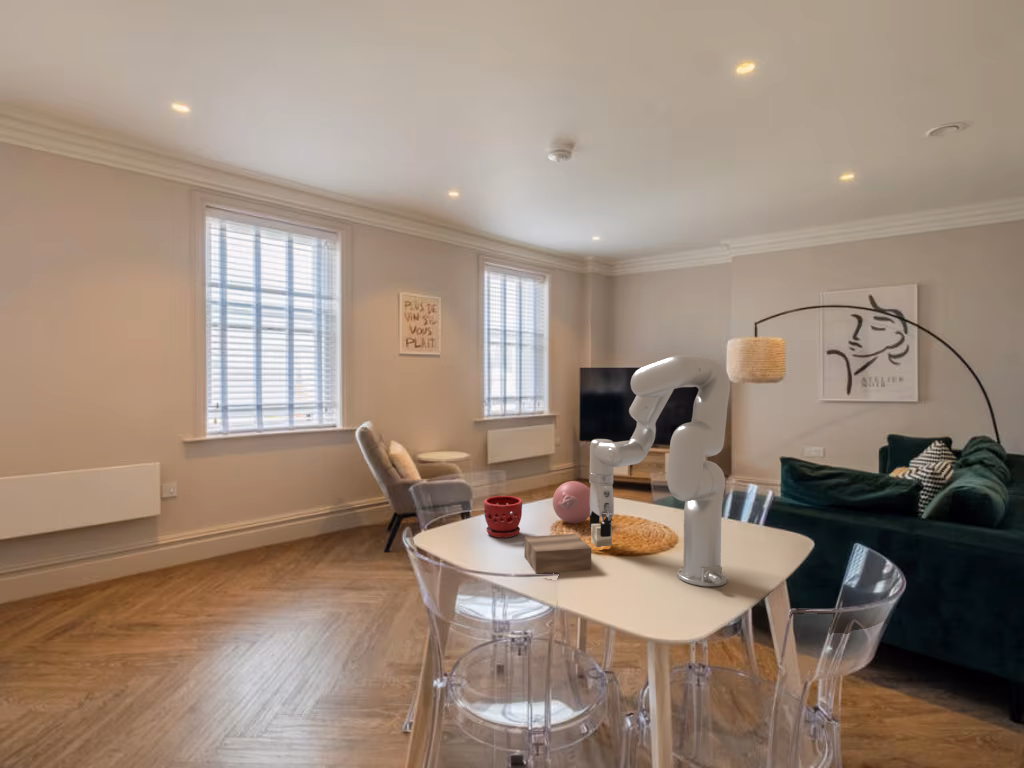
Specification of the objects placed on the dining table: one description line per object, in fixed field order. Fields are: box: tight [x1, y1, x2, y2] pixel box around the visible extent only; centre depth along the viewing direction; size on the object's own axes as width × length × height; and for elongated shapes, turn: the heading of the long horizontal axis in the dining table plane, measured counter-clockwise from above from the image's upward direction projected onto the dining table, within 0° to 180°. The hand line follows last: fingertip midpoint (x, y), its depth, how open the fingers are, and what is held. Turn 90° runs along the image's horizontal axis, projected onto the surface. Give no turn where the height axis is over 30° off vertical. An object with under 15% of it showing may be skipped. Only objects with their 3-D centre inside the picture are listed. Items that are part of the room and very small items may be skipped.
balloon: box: [552, 480, 590, 524], centre depth 197 cm, size 15×20×15 cm
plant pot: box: [483, 495, 523, 538], centre depth 184 cm, size 13×13×12 cm
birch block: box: [590, 523, 613, 547], centre depth 170 cm, size 5×5×7 cm
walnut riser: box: [523, 533, 592, 574], centre depth 155 cm, size 14×16×6 cm
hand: (599, 531), depth 170 cm, fingers open, 9 cm apart
